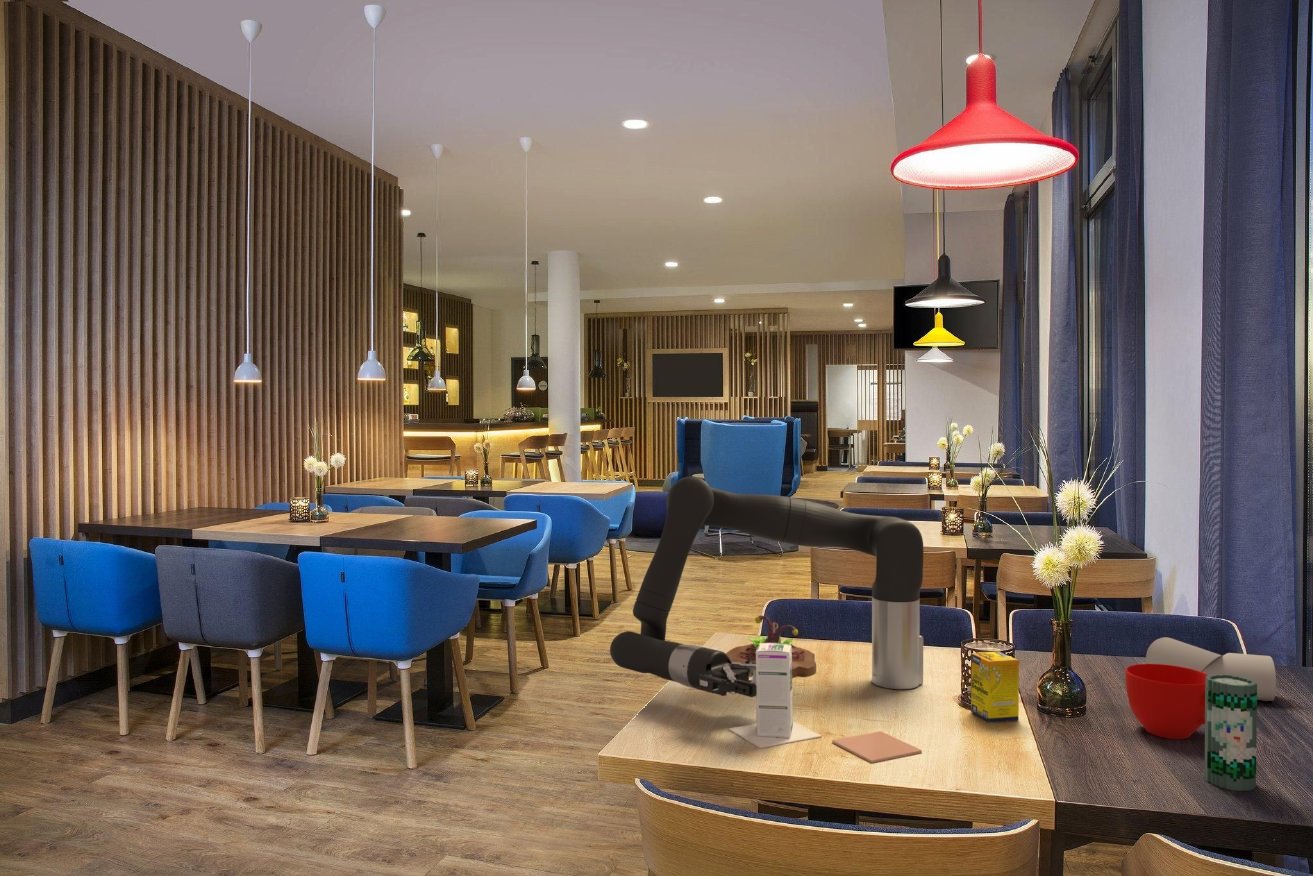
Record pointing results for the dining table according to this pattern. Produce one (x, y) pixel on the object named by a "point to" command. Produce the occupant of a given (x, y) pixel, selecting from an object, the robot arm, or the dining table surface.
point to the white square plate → (761, 741)
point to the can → (1230, 731)
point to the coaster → (876, 746)
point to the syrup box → (774, 690)
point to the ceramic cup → (1167, 698)
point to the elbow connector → (1216, 663)
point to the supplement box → (995, 686)
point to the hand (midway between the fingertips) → (770, 685)
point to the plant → (800, 657)
